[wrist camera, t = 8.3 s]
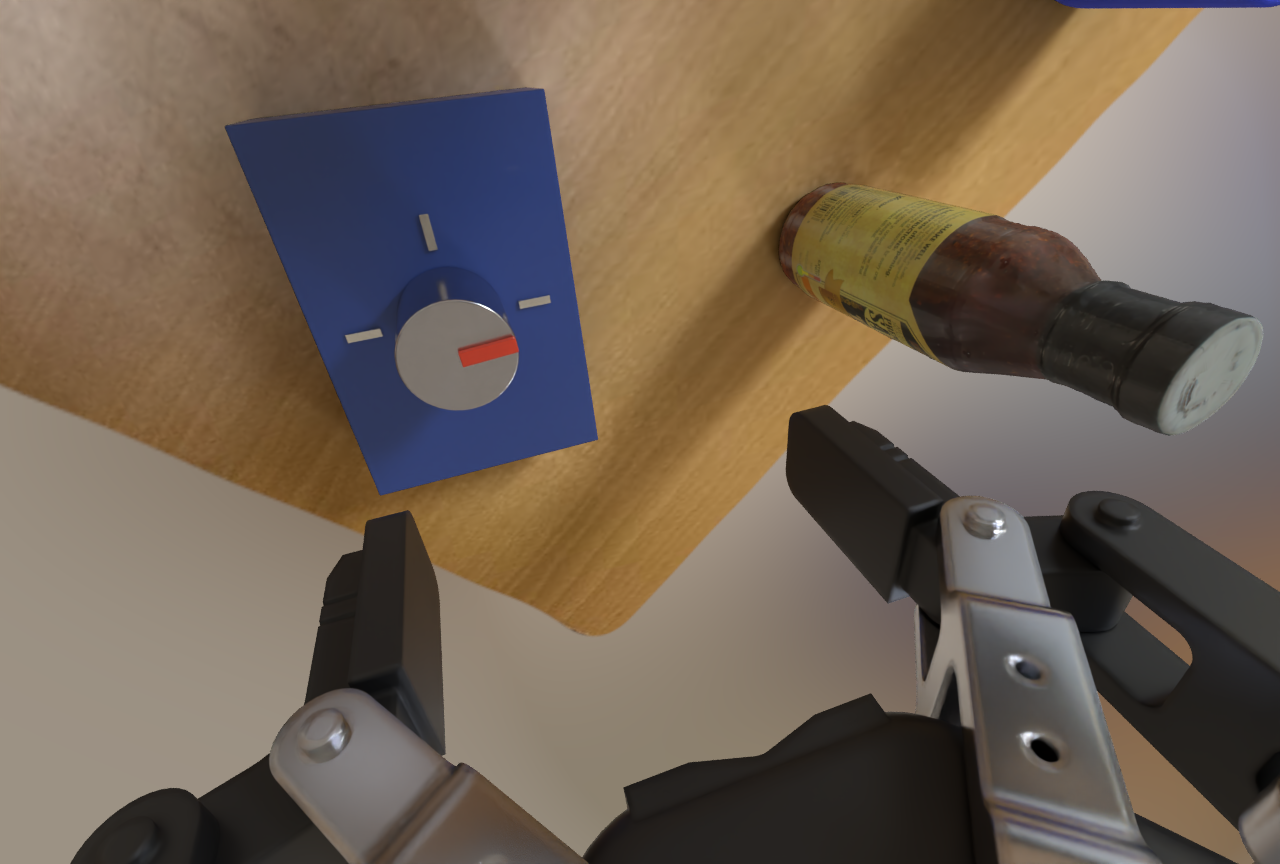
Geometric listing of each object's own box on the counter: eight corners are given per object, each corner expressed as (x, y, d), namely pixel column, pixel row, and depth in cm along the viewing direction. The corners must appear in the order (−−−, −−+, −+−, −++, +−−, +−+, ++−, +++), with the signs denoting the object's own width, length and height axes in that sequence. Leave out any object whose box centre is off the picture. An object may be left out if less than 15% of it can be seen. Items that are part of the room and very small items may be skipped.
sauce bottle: (760, 285, 34) (1077, 473, 18) (792, 169, 31) (1203, 268, 15) (851, 295, 36) (1203, 468, 20) (888, 188, 33) (1332, 289, 17)
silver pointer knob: (418, 376, 26) (420, 429, 22) (379, 281, 24) (373, 321, 20) (515, 349, 27) (533, 395, 23) (487, 254, 24) (501, 288, 21)
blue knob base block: (250, 119, 23) (222, 126, 20) (527, 87, 25) (544, 88, 22) (383, 453, 32) (379, 498, 28) (580, 405, 34) (599, 441, 31)
